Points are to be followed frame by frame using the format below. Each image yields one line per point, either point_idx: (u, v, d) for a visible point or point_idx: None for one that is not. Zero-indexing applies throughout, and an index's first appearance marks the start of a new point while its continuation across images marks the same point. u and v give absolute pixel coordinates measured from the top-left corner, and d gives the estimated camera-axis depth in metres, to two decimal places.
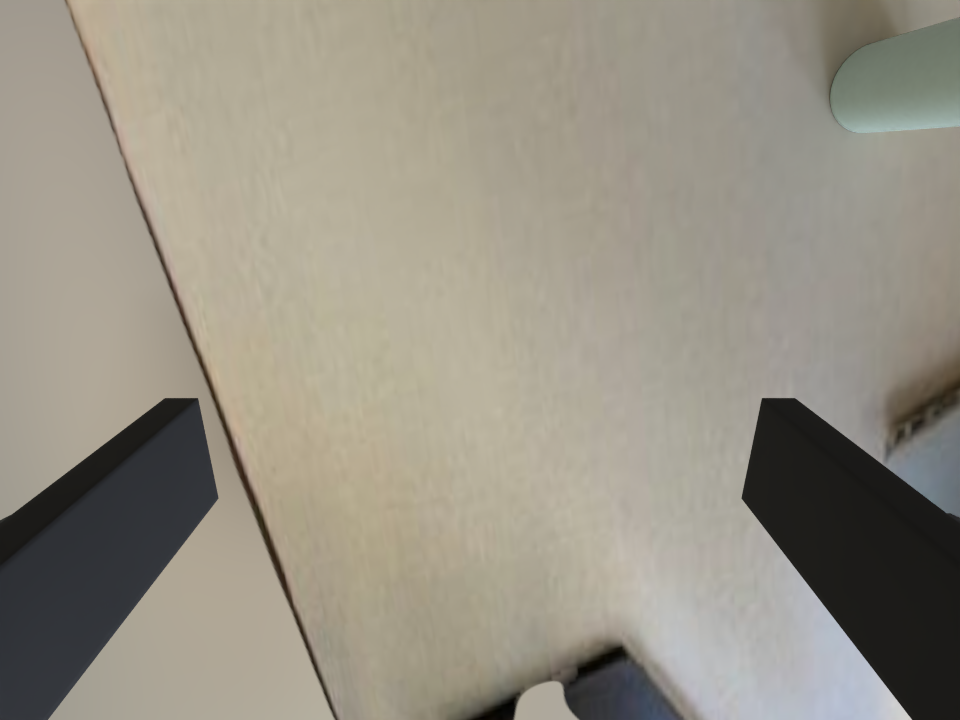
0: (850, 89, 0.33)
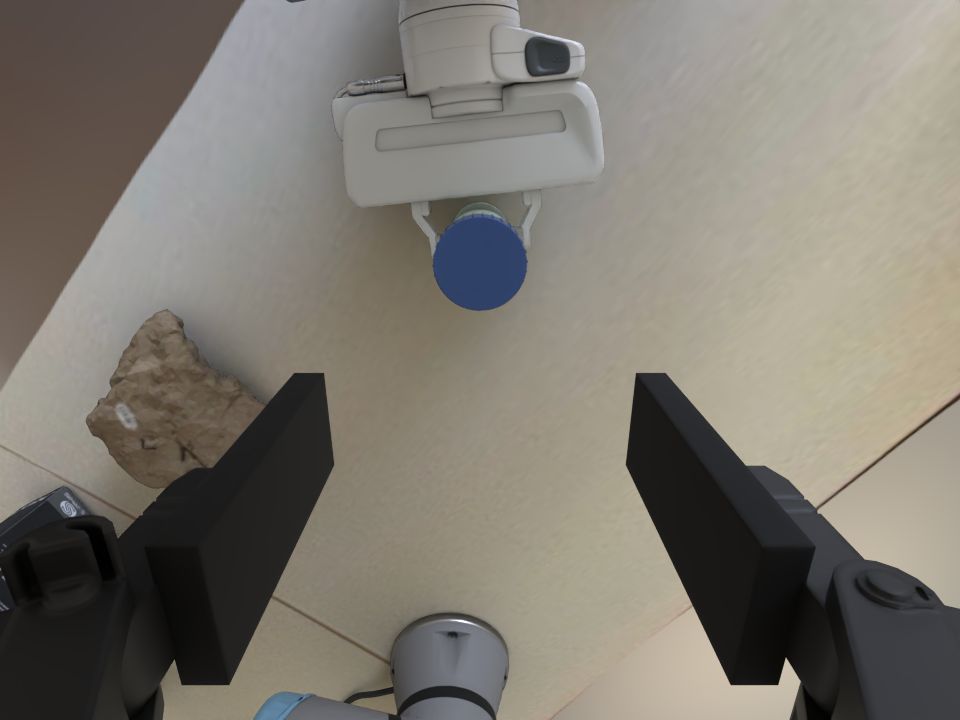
0: None
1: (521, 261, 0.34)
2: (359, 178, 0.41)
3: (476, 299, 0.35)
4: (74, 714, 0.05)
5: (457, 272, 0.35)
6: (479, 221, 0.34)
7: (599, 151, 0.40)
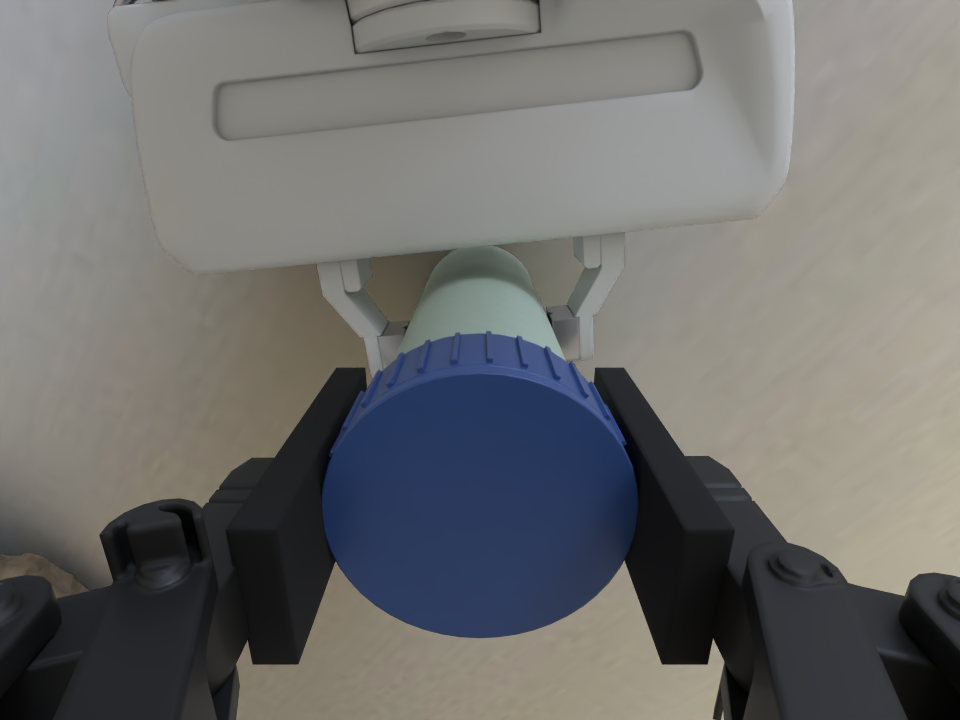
0: None
1: (621, 508, 0.10)
2: (182, 206, 0.17)
3: (468, 611, 0.11)
4: (167, 691, 0.06)
5: (404, 539, 0.10)
6: (477, 386, 0.09)
7: (784, 140, 0.16)
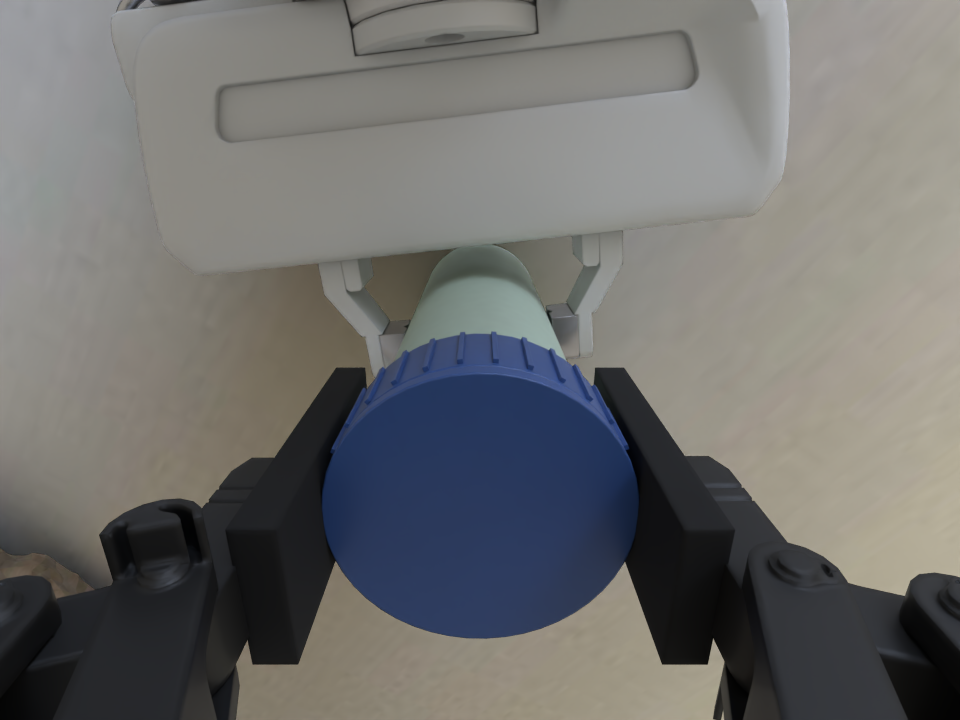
0: None
1: (372, 433, 0.10)
2: (186, 208, 0.17)
3: (583, 461, 0.10)
4: (167, 691, 0.06)
5: (546, 555, 0.10)
6: (377, 594, 0.11)
7: (780, 138, 0.16)
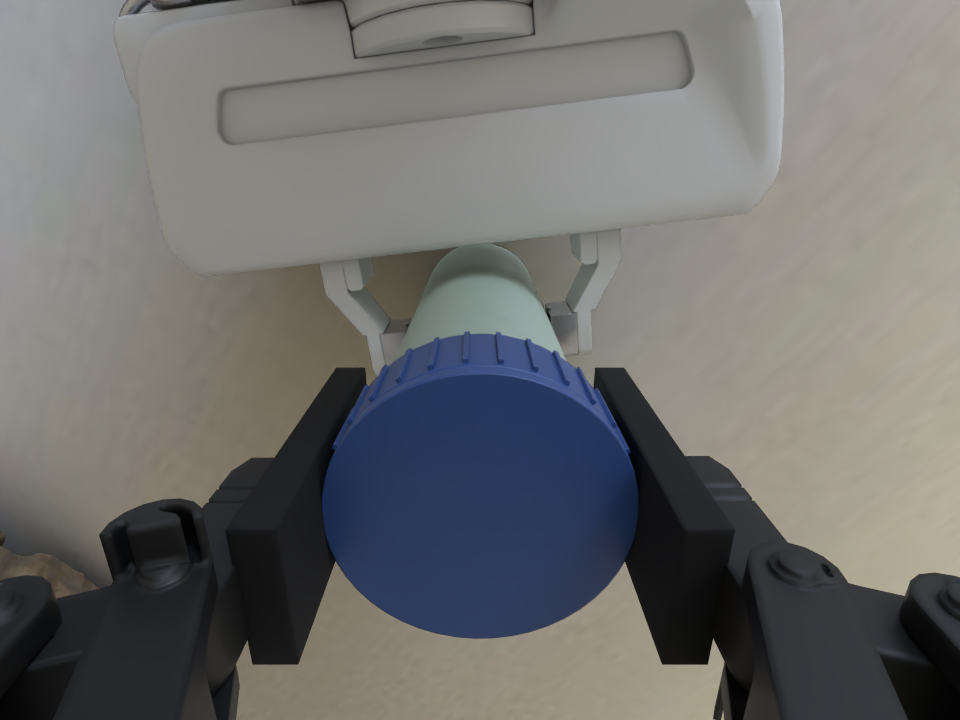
0: None
1: (471, 627, 0.11)
2: (189, 210, 0.17)
3: (362, 493, 0.10)
4: (167, 691, 0.06)
5: (468, 450, 0.10)
6: (621, 538, 0.10)
7: (775, 136, 0.16)
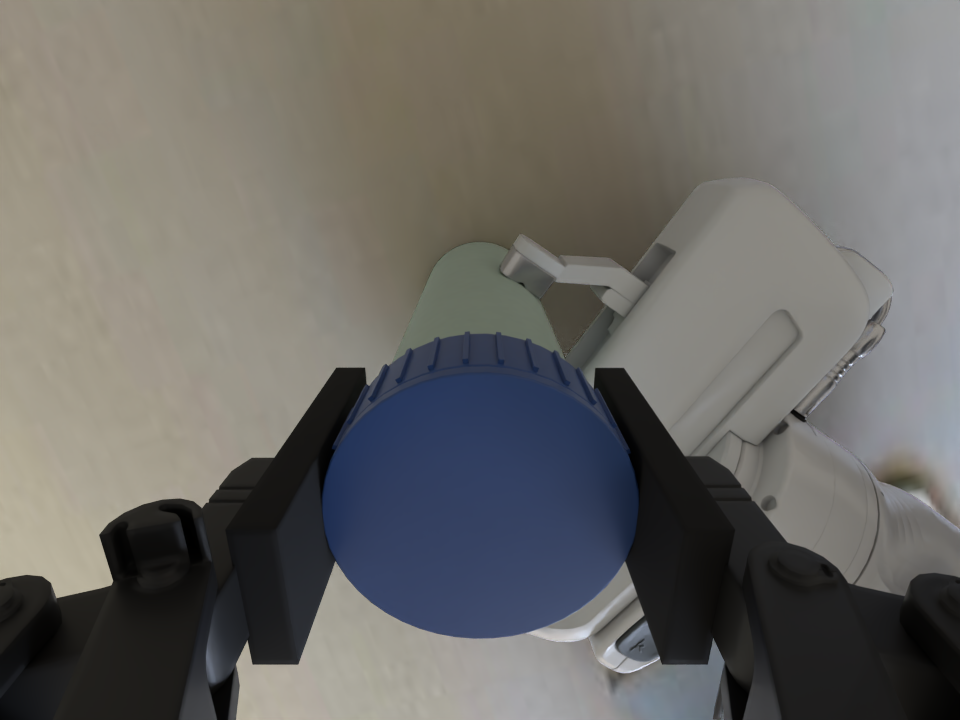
0: None
1: (471, 627, 0.11)
2: (775, 240, 0.18)
3: (362, 493, 0.10)
4: (167, 691, 0.06)
5: (468, 450, 0.10)
6: (621, 538, 0.10)
7: None
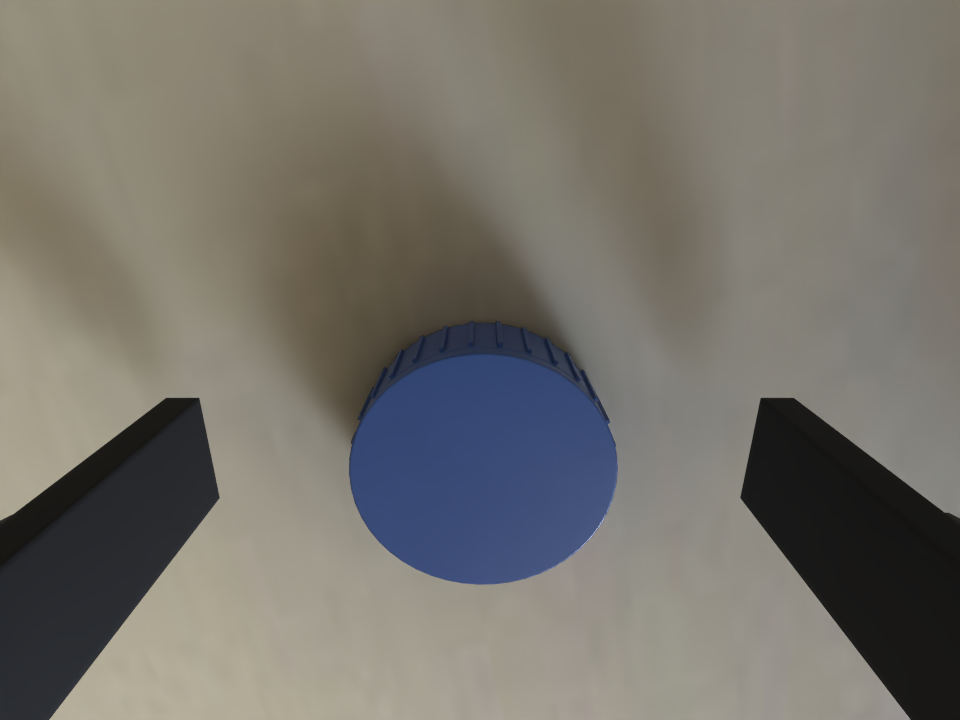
0: None
1: (475, 574, 0.13)
2: None
3: (384, 456, 0.12)
4: None
5: (473, 419, 0.12)
6: (602, 495, 0.12)
7: None
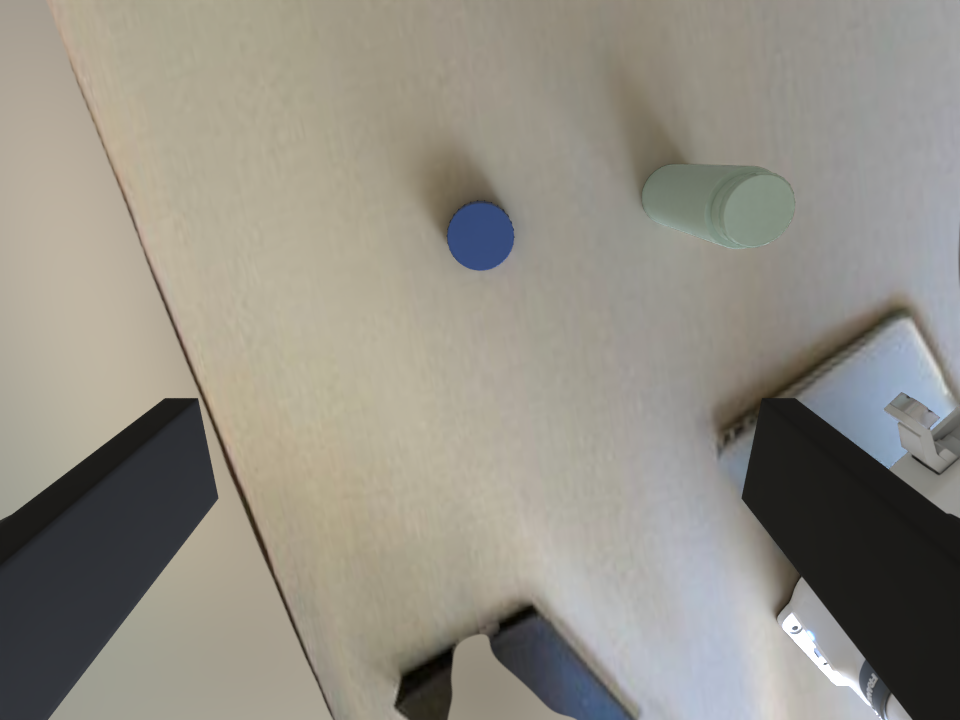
0: (648, 200, 0.48)
1: (478, 266, 0.50)
2: None
3: (456, 230, 0.48)
4: None
5: (478, 220, 0.48)
6: (510, 242, 0.49)
7: None
